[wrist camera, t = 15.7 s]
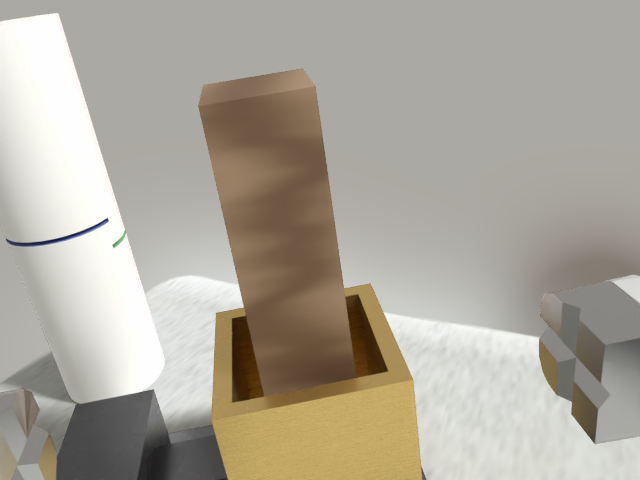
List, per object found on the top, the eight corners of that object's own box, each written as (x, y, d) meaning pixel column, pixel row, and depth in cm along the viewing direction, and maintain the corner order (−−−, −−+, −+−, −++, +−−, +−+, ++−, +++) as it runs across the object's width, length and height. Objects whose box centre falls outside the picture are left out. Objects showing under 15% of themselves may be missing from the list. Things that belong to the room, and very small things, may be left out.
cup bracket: (44, 714, 24) (-62, 537, 20) (108, 458, 37) (52, 315, 32) (473, 616, 25) (464, 427, 21) (392, 400, 38) (376, 254, 34)
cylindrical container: (47, 391, 44) (-102, 39, 34) (120, 337, 50) (12, 18, 39) (112, 416, 41) (-31, 30, 30) (184, 355, 46) (83, 9, 35)
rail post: (277, 459, 27) (196, 106, 20) (271, 400, 31) (201, 84, 24) (366, 440, 27) (317, 86, 20) (350, 384, 31) (303, 68, 24)
